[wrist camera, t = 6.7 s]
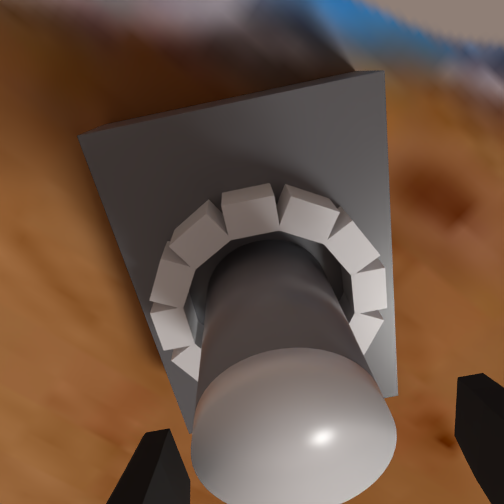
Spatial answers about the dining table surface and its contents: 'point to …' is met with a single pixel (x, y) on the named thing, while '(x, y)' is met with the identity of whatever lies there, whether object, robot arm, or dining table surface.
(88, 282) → the dining table surface
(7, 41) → the dining table surface
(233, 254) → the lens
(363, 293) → the grey flange plate
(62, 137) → the dining table surface
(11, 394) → the dining table surface
